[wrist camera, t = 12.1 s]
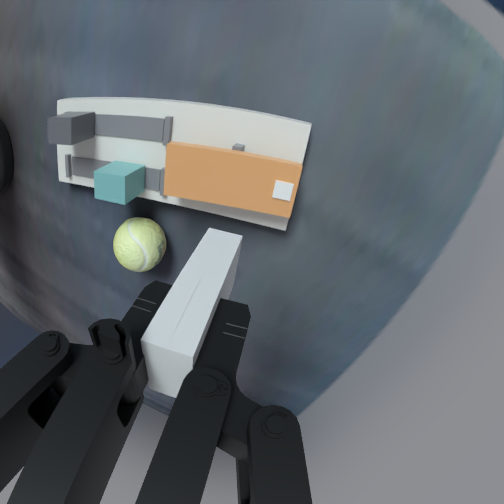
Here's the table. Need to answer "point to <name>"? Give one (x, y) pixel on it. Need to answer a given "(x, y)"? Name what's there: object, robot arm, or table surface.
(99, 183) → the teal slider
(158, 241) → the tennis ball
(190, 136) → the panel
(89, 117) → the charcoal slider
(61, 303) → the table surface
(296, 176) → the tan block
